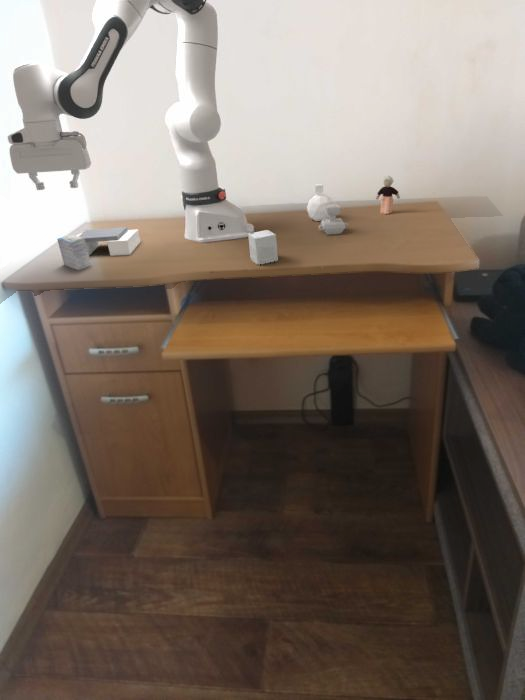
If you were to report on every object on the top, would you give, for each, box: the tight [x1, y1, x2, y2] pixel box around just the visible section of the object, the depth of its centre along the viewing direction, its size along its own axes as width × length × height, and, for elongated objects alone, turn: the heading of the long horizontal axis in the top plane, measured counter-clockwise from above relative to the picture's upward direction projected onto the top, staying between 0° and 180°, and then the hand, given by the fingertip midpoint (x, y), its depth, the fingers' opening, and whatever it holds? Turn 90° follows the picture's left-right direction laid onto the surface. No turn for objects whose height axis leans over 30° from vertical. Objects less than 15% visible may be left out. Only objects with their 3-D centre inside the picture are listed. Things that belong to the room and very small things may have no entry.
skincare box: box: [247, 229, 279, 266], centre depth 141 cm, size 6×6×7 cm
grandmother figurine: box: [375, 175, 401, 215], centre depth 172 cm, size 8×4×13 cm, turn 81°
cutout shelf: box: [76, 226, 141, 257], centre depth 161 cm, size 19×12×6 cm, turn 87°
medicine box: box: [57, 234, 92, 271], centre depth 149 cm, size 8×4×9 cm, turn 47°
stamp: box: [317, 203, 348, 236], centre depth 159 cm, size 9×7×8 cm
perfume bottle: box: [306, 183, 334, 222], centre depth 171 cm, size 9×9×12 cm
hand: (57, 188), depth 141 cm, fingers open, 8 cm apart
